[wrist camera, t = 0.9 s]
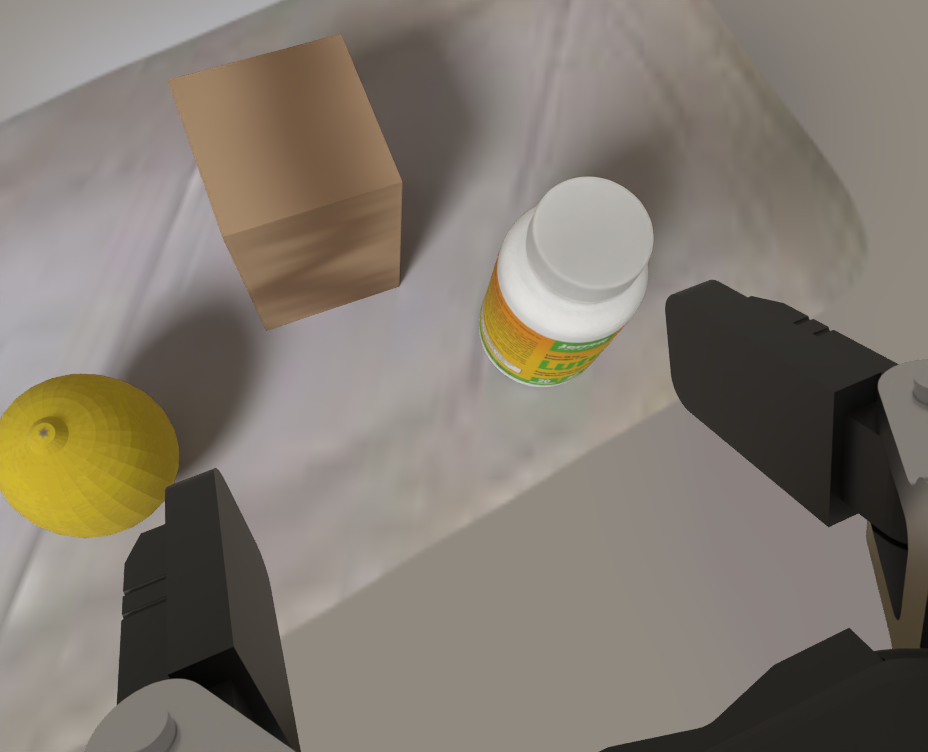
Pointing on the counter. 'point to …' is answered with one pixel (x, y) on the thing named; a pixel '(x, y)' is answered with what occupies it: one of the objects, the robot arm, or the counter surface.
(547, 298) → the supplement bottle
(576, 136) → the counter surface
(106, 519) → the lemon
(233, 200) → the brown wooden block
